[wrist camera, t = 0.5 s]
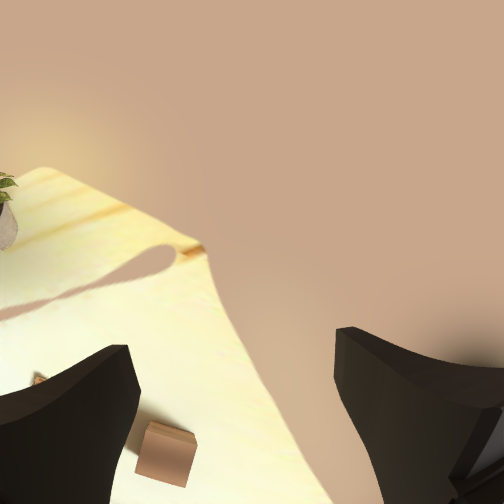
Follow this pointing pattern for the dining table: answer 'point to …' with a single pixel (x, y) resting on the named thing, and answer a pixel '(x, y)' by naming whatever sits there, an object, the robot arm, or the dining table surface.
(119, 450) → the robot arm
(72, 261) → the dining table surface
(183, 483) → the walnut block
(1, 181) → the house plant
